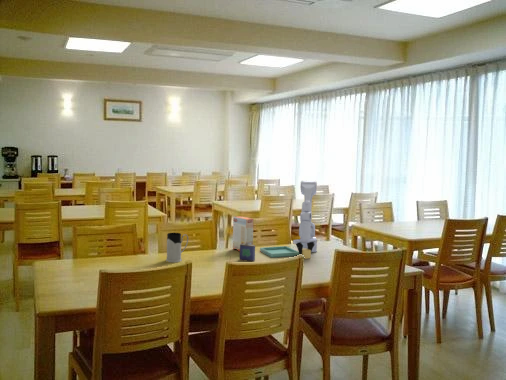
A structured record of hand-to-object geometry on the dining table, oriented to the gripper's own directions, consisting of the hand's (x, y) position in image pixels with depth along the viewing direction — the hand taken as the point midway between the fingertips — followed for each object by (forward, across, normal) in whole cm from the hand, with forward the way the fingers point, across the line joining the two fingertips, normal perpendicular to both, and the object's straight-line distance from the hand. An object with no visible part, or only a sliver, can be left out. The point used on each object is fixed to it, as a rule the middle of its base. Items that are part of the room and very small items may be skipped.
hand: (304, 255), depth 270 cm
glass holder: (+2, -72, +15) cm, 74 cm away
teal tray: (+1, -10, +14) cm, 17 cm away
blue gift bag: (+2, -35, +3) cm, 35 cm away
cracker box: (+2, -29, +27) cm, 40 cm away
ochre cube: (+2, 0, 0) cm, 2 cm away
